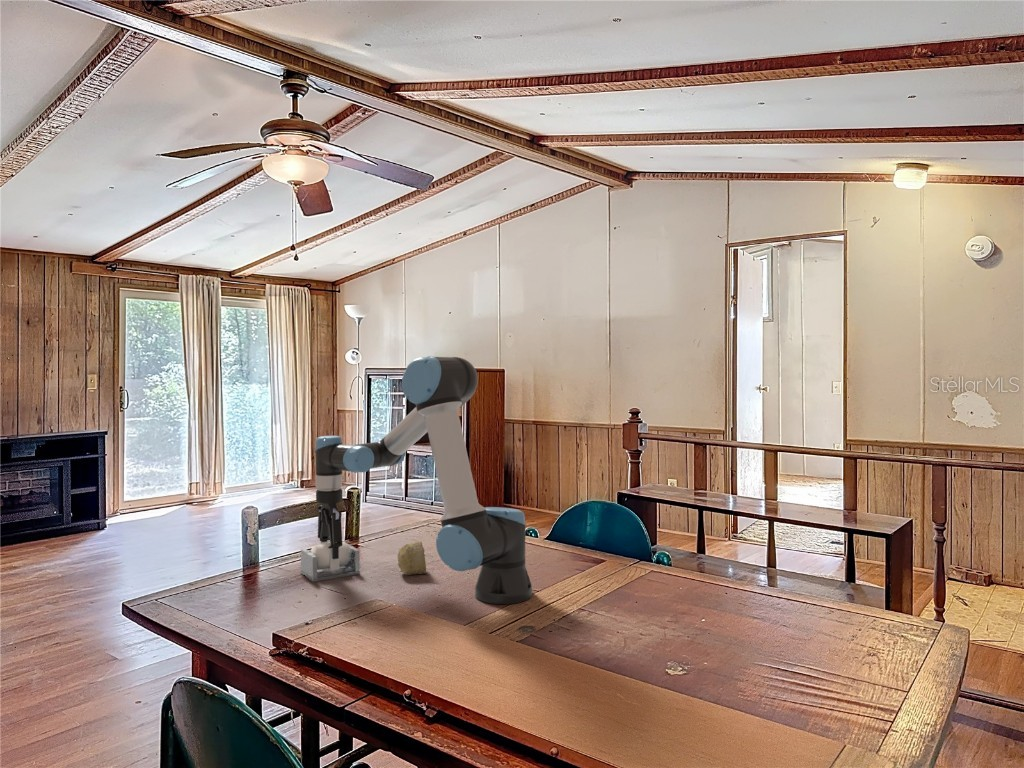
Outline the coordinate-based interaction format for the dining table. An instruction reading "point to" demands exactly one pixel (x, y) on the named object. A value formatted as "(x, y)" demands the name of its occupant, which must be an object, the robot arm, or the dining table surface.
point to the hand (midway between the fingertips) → (329, 566)
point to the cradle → (323, 574)
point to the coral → (412, 559)
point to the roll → (323, 555)
